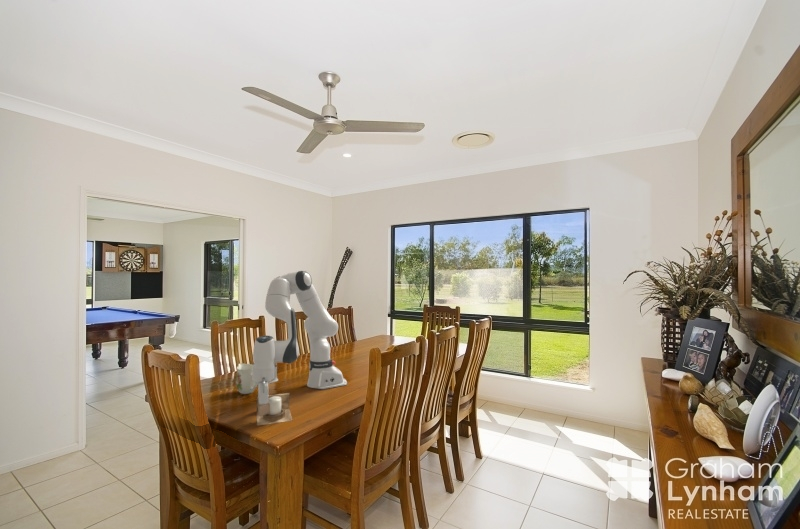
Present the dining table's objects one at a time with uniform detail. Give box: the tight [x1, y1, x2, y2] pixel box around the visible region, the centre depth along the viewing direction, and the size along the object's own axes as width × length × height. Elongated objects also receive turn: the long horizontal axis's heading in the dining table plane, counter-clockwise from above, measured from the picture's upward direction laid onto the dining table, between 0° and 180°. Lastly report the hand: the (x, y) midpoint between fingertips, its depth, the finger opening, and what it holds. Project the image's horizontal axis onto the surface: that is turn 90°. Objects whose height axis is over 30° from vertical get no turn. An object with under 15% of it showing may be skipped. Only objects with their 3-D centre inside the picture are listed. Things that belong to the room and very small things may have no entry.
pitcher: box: [235, 362, 258, 395], centre depth 188 cm, size 11×18×14 cm, turn 51°
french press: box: [270, 362, 279, 384], centre depth 208 cm, size 10×12×25 cm
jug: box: [258, 396, 281, 417], centre depth 151 cm, size 10×6×8 cm, turn 141°
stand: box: [256, 392, 293, 427], centre depth 154 cm, size 14×16×8 cm
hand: (262, 407), depth 151 cm, fingers closed
